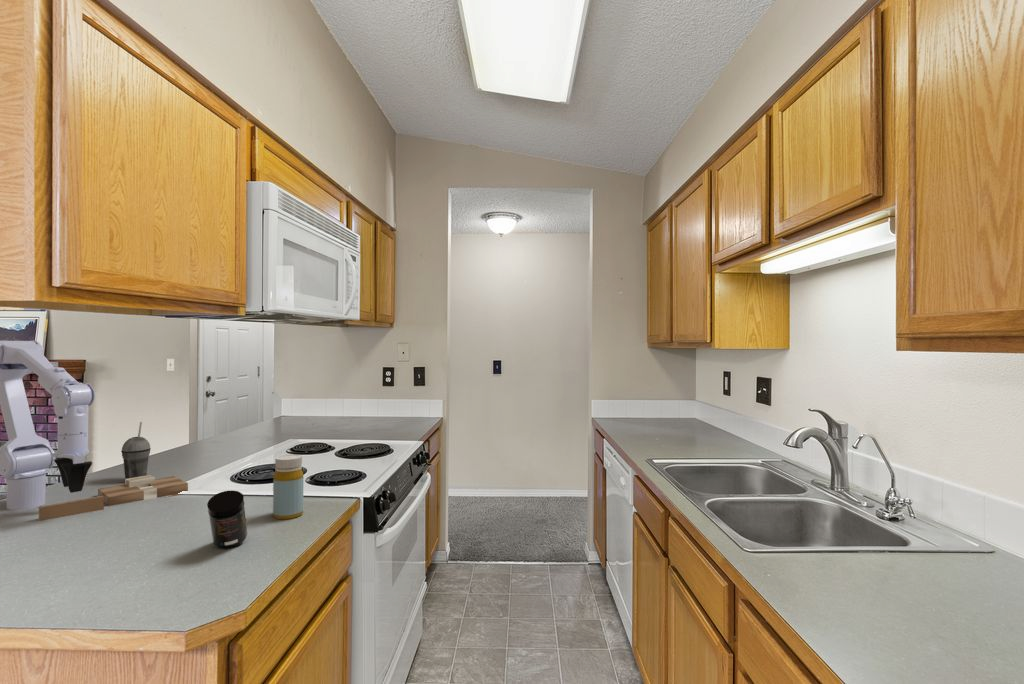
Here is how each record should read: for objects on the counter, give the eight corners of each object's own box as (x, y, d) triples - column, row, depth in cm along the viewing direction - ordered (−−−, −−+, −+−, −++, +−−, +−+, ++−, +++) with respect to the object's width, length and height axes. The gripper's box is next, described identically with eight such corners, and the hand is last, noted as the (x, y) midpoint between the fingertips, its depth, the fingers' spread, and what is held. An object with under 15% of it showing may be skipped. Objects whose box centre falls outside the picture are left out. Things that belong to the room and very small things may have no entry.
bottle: (293, 509, 134) (293, 453, 134) (308, 515, 130) (309, 456, 130) (267, 517, 128) (268, 457, 128) (282, 522, 124) (283, 461, 124)
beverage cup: (116, 488, 153) (117, 422, 153) (144, 483, 159) (145, 419, 159) (126, 492, 149) (126, 424, 149) (154, 487, 155) (155, 421, 155)
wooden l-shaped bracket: (33, 520, 125) (33, 500, 125) (95, 508, 134) (95, 489, 134) (39, 529, 119) (39, 507, 119) (103, 516, 128) (103, 496, 128)
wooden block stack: (97, 503, 139) (97, 483, 139) (173, 489, 153) (173, 470, 153) (110, 514, 130) (110, 492, 130) (189, 498, 143) (189, 478, 144)
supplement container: (243, 523, 115) (239, 486, 111) (251, 542, 110) (247, 504, 106) (210, 535, 111) (204, 497, 107) (216, 555, 106) (210, 516, 102)
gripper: (46, 432, 126) (45, 486, 126) (56, 439, 116) (56, 498, 116) (82, 428, 131) (82, 481, 131) (95, 435, 122) (95, 491, 122)
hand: (72, 488), depth 124 cm, fingers open, 7 cm apart
